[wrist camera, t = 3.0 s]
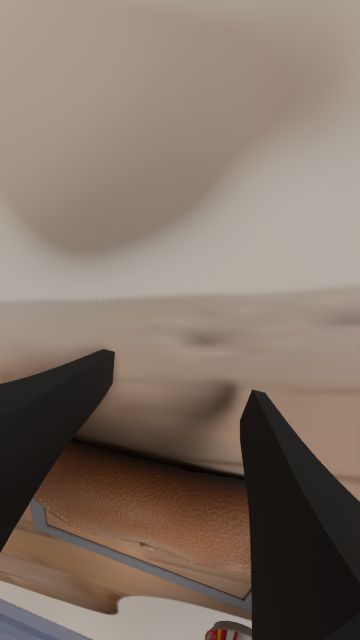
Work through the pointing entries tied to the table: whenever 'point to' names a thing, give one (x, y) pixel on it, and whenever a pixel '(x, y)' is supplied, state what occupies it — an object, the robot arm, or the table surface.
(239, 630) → the soda can
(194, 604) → the table surface
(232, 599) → the taped bay
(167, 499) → the sunglasses case
